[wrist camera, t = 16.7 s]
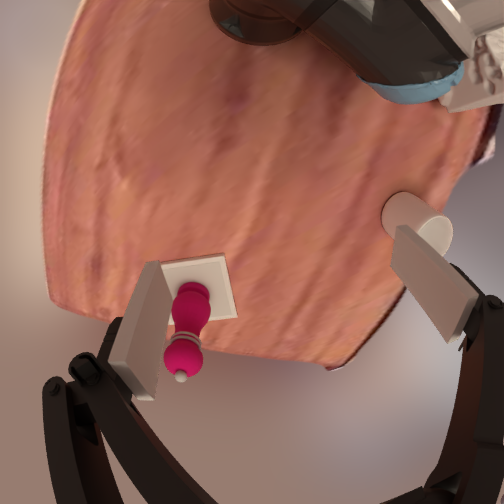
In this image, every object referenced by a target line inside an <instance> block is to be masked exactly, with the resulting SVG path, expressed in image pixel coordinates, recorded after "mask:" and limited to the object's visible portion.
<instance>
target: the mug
mask: <svg viewBox="0 0 504 504" xmlns="http://www.w3.org/2000/svg"><path fill="white" fill-rule="evenodd" d="M381 220H382V225H383V228H384V229H385V231H386V232H387V234H388V235H389V236H390V237H391V238H392V239H393V240H394V239H395V231H396V226H399V225H406V224H407V225H408V226H409V227H410V228H411V229H413V230H414V231H415V232H416V233H417V234H418V235H419V236H420V237H422V238H423V239H424V240H425V241H426V242H427V243H428V244H429V245H430V246H431V247H433V248H434V249H435V250H436V251H437V252H438V253H439V254H440V255H441V256H442V257H443V256H444V254H445V253H446V252H447V250H448V248H449V246H450V244H451V241H452V238H453V226H452V223H451V221H450V220H449V219H448V218H447V217H446V216H445V215H443V214H442V213H440V212H439V211H438V210H436V209H435V208H433V207H432V206H430V205H429V204H427V203H426V202H424V201H423V200H421V199H420V198H418V197H417V196H415V195H413V194H411V193H409V192H400V193H397V194H395V195H393V196H392V197H391V198H390V199H389V200H388V201H387V203H386V204H385V206H384V208H383V211H382V216H381Z"/></svg>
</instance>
